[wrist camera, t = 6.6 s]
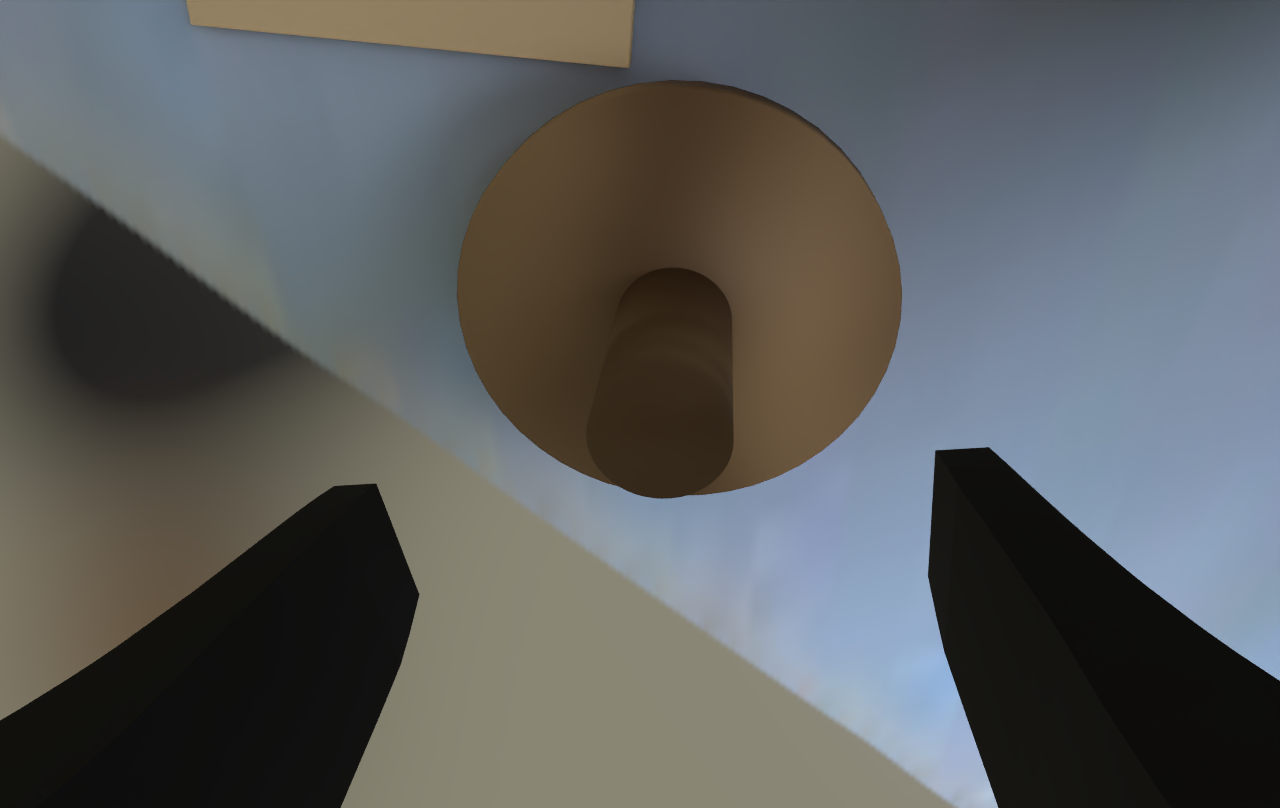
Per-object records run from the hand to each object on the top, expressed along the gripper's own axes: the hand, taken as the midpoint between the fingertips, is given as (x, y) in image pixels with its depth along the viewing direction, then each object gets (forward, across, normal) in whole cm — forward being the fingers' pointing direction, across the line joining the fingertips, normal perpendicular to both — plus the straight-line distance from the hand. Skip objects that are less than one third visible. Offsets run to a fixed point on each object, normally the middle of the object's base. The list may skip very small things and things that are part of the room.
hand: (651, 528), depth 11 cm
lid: (+7, 0, 0) cm, 7 cm away
